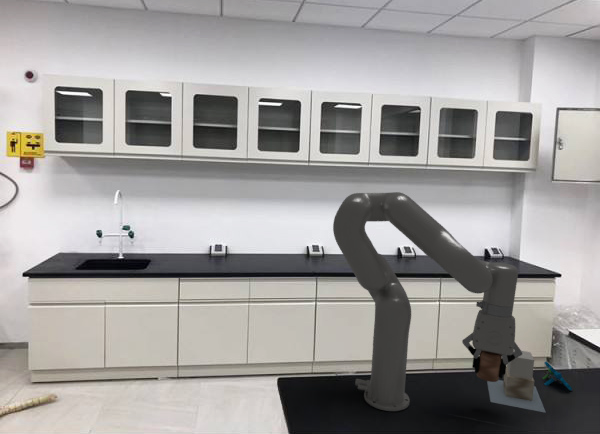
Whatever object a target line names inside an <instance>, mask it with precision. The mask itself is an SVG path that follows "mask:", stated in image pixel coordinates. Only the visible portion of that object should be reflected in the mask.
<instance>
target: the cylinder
mask: <svg viewBox="0 0 600 434" xmlns="http://www.w3.org/2000/svg"><path fill="white" fill-rule="evenodd" d="M479 359H480V361H479V368H478V373H476V376H477V377H478V378H480V380H482V381H485V382H487V381H490V382H496V381H498V380H500V377H499V372H500V365H501V359H502V354H497V353H492V352H487V351H481V353H480V354H479Z"/></svg>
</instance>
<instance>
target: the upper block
mask: <svg viewBox="0 0 600 434" xmlns="http://www.w3.org/2000/svg"><path fill="white" fill-rule="evenodd" d="M514 351H515V350H514ZM514 351H513V352H514ZM521 351H522V355H521V356H519V357H517V358H515V359H514V360H512V361H511V362H509V363H508V364H507V365H506V367H507V370H508V373H509V376H511V377H517V378H523V379H529V380H532V377H533V375H534V367H535V366H534V365H535V359H534V357H533V354H532V352H531V351H525V350H521ZM533 378H534V377H533Z"/></svg>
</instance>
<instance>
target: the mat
mask: <svg viewBox="0 0 600 434" xmlns="http://www.w3.org/2000/svg"><path fill="white" fill-rule="evenodd" d="M503 381H504V380H502V379H498V381H496V382H490V381H486V382H487V389H488V395H489V400H490V403H495V404H499V405H504V406H510V407H514V408H520V409H525V410H529V411H535V412H539V413H540V412H541V413H547V412H546V410H545V408H544V404H543V402H542V400H541V398H540V397H541V396H540V395H539V392H538V389H537V387H536V386H535V385H534V389H533V399H532V401H529V400H524V399H519V398H513V397H508V396H506V395H505V391H504V387H503Z"/></svg>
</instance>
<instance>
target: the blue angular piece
mask: <svg viewBox="0 0 600 434" xmlns="http://www.w3.org/2000/svg"><path fill="white" fill-rule="evenodd" d="M544 365H545V366H546V367H547V368H548V369H547V370H548V371H547V372H546V375H544V376H543V377H542V378H541V379H543V380H546V379H547V378H549V377H550V379H548V380H547V381H545V382H544V383H543V384H544V385H545V386H549V385H551V384H552V383H553V382H557V381H558V380H559V381H560V382H561V383H562V384H563V385H564V386H565V387H566V388H567V389H568V390H569V391H572V390H573V388H572V387H571V385H570V384H569V383H568V382H567V381H566V380H565V378H564V377H563V374H562V373H561V372H558V371H557V370H556V369H555V368H554V367H553V366H552V365H551V364H550V363H549V362H548V361H544Z"/></svg>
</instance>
